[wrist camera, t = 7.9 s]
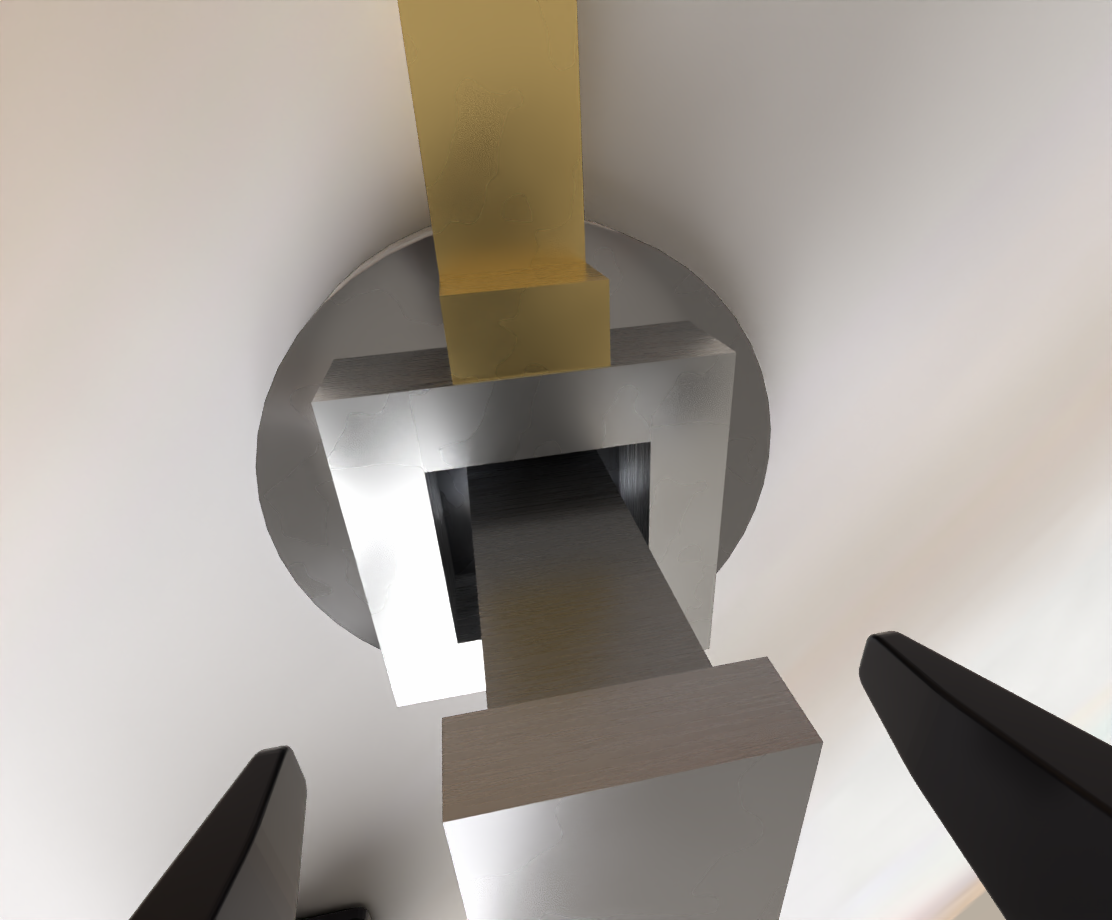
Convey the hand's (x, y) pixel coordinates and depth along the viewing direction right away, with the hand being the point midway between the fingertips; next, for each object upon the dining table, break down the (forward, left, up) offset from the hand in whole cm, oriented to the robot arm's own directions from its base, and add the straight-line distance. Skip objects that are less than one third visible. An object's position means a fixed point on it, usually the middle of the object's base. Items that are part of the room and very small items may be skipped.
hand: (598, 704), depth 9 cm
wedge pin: (0, 0, -7) cm, 7 cm away
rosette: (+2, 0, -9) cm, 9 cm away
